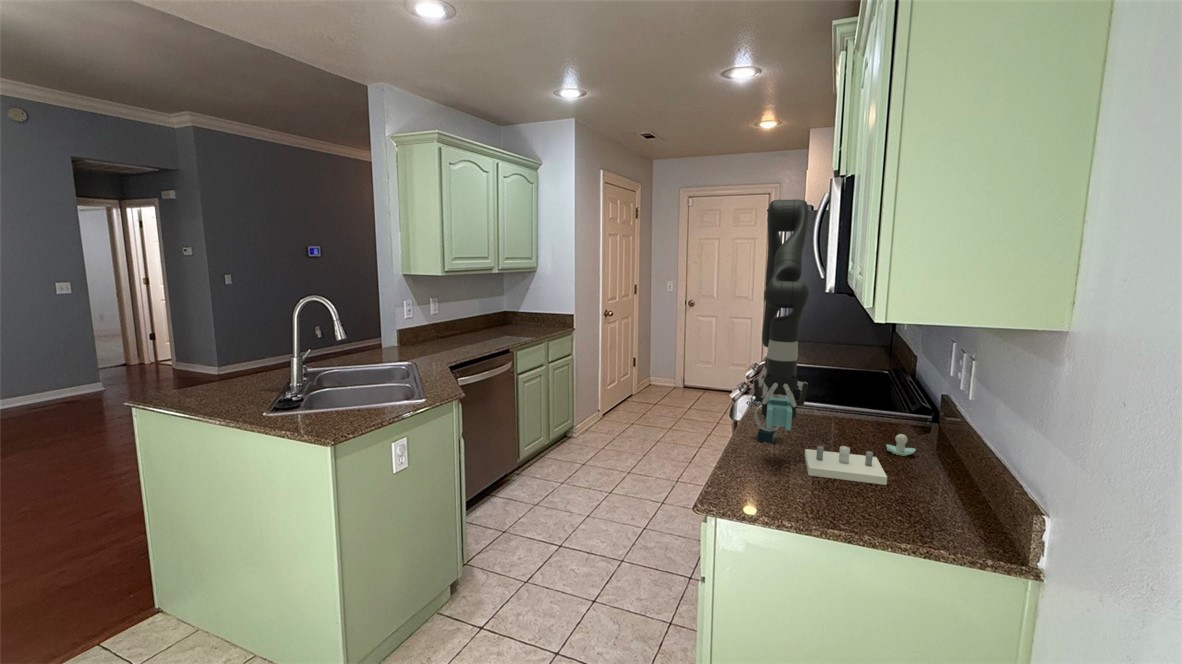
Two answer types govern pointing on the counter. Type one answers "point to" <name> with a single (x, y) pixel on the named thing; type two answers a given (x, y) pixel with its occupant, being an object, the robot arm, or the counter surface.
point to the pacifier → (900, 446)
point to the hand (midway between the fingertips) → (777, 417)
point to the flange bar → (779, 413)
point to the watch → (764, 430)
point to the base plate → (845, 465)
